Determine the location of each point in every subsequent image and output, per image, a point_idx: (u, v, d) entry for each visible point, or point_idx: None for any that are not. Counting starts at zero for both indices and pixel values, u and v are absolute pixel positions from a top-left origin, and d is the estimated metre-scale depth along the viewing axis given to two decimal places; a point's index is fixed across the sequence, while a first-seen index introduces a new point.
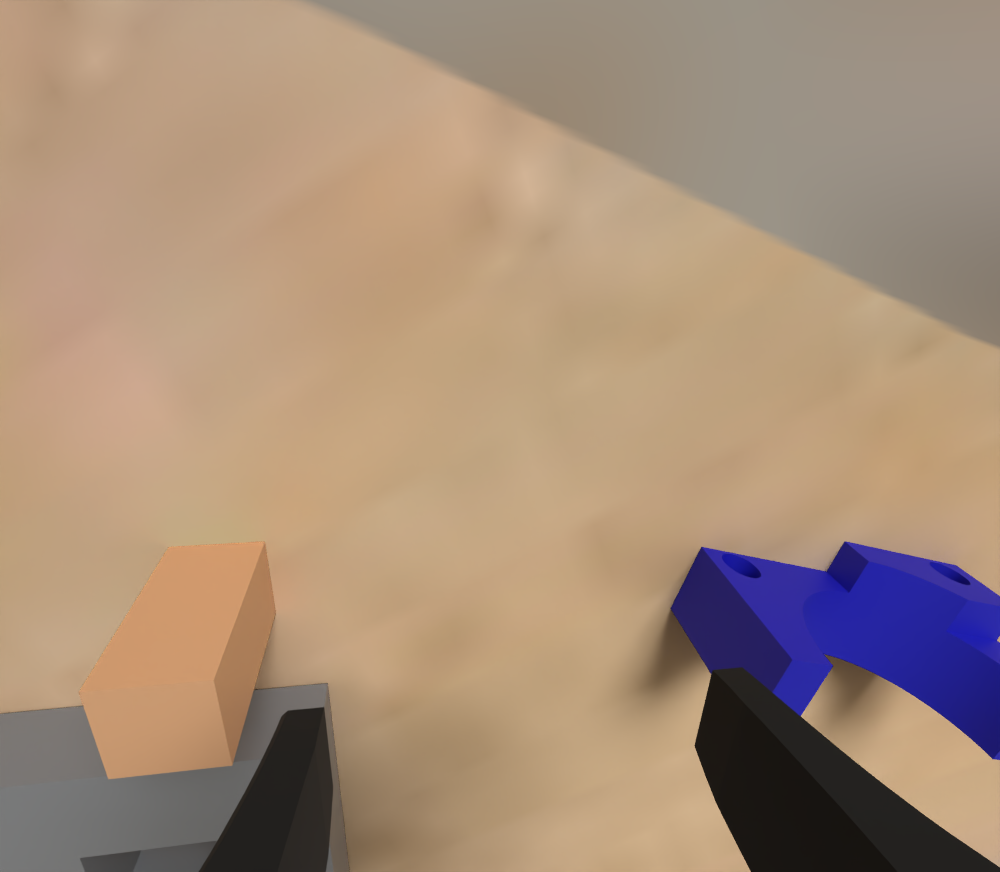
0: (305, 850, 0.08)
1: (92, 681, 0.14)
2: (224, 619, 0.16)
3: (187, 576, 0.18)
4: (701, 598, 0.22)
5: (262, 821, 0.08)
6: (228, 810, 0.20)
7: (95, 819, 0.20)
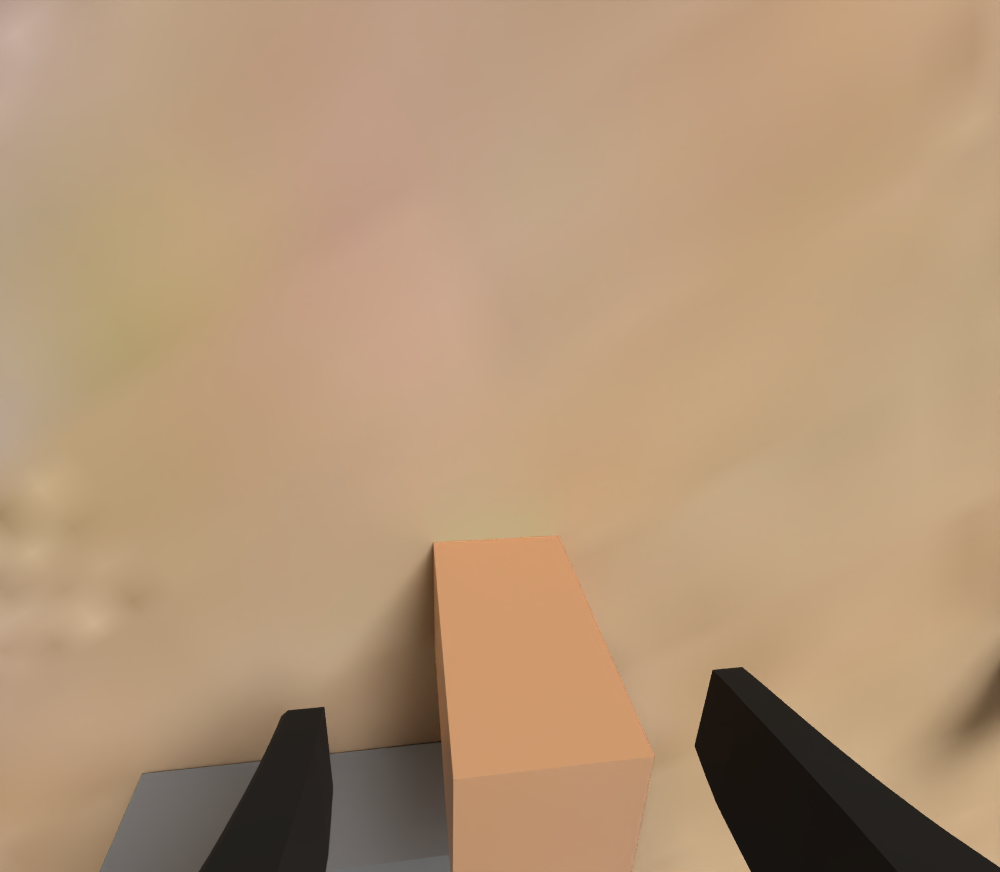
0: (305, 850, 0.08)
1: (463, 758, 0.09)
2: (592, 650, 0.11)
3: (489, 584, 0.12)
4: None
5: (262, 821, 0.08)
6: None
7: None
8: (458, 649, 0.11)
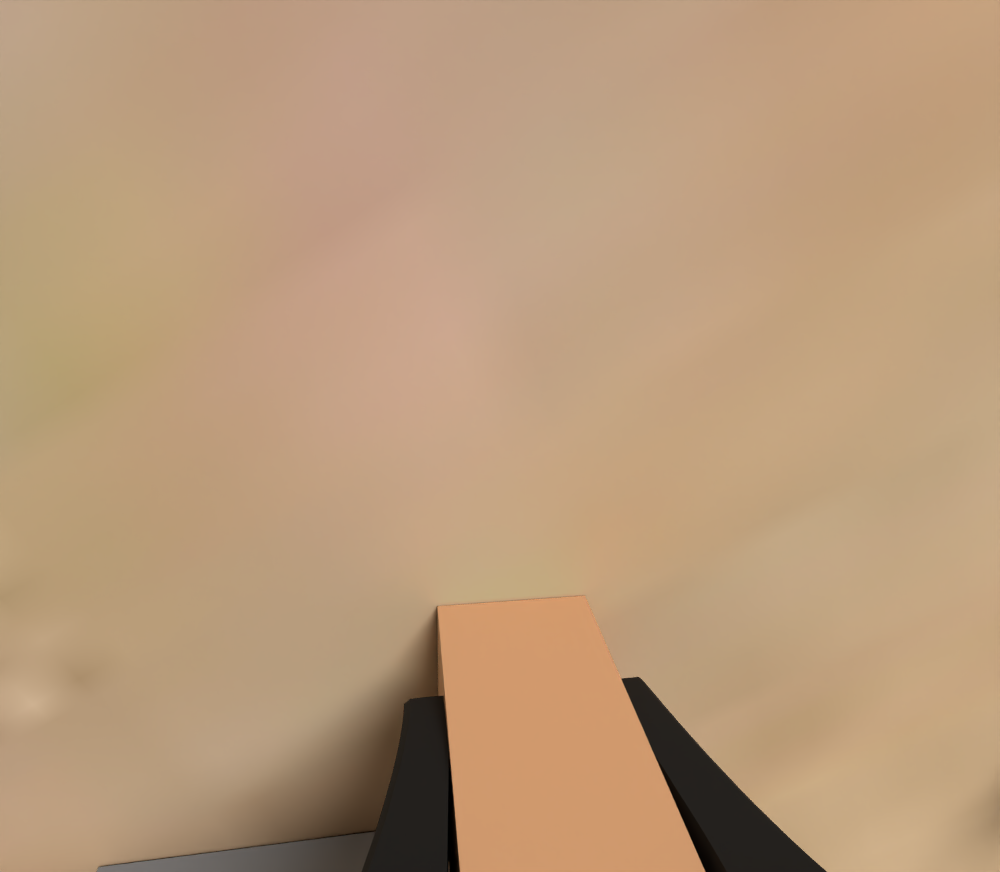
0: None
1: None
2: (638, 764, 0.09)
3: (505, 666, 0.10)
4: None
5: (419, 802, 0.08)
6: None
7: None
8: (471, 765, 0.09)
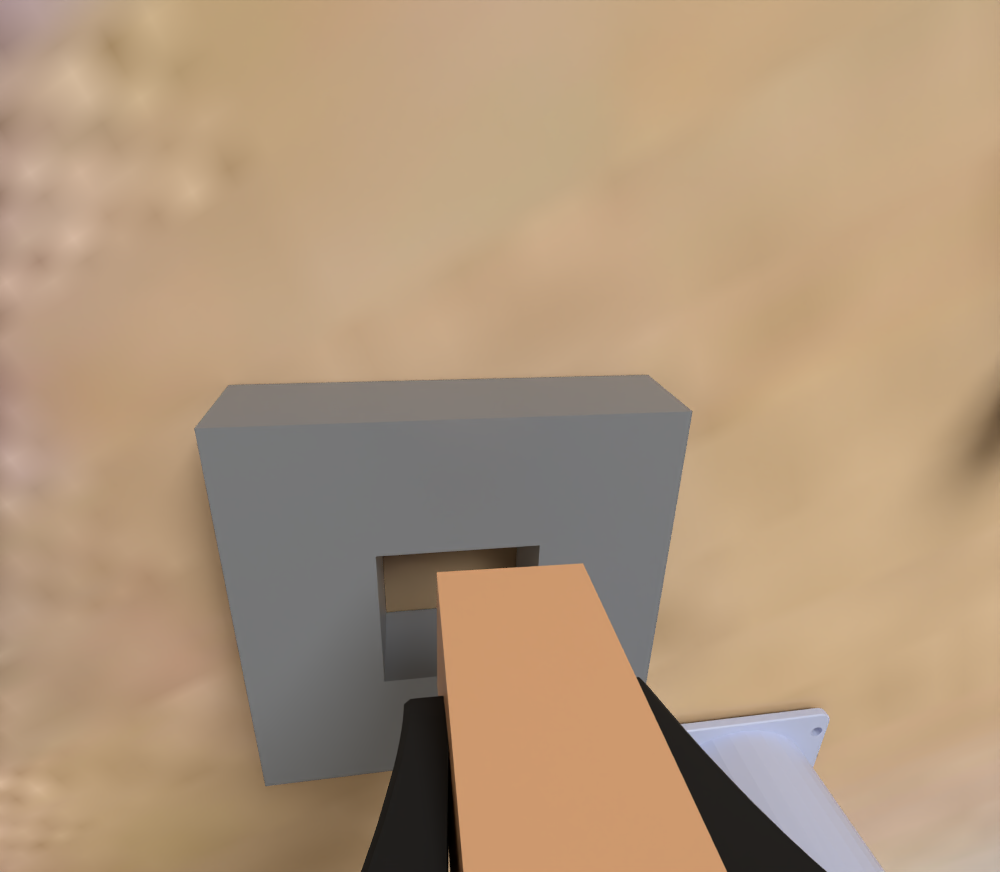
0: None
1: None
2: (635, 717, 0.09)
3: (504, 627, 0.10)
4: None
5: (419, 802, 0.08)
6: (565, 496, 0.16)
7: (408, 493, 0.15)
8: (469, 717, 0.09)
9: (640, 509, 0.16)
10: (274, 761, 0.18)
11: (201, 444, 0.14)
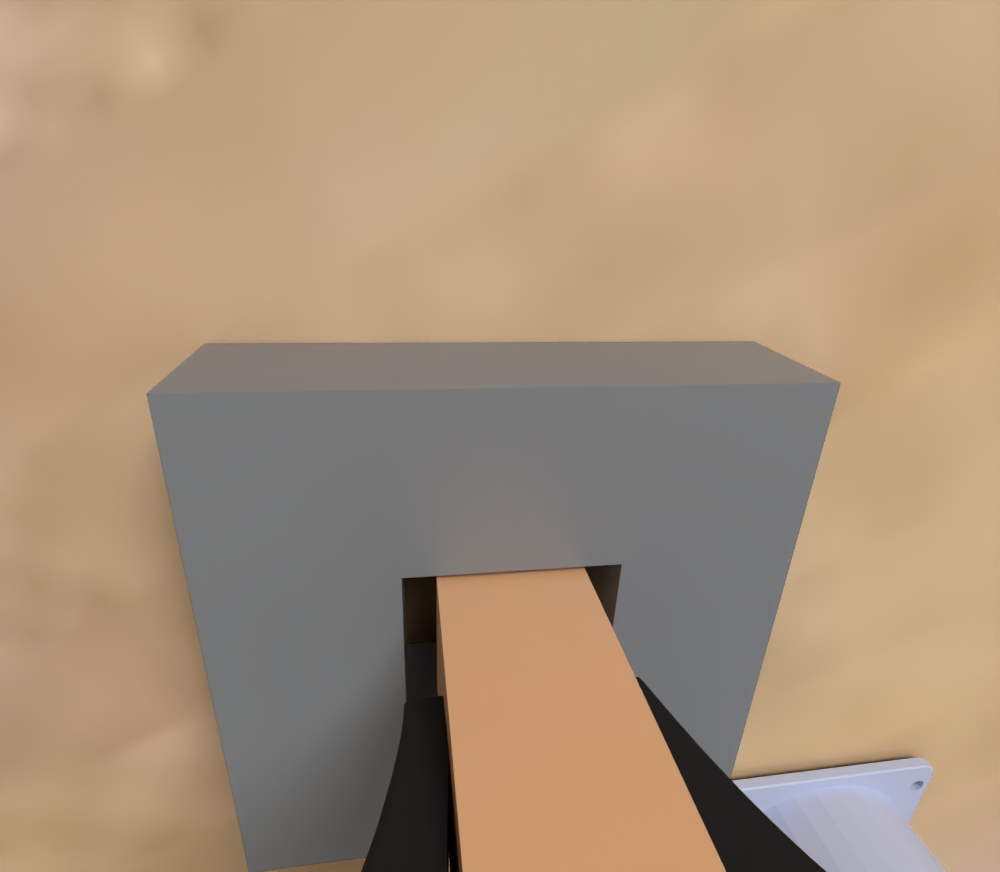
0: None
1: None
2: (634, 717, 0.09)
3: (503, 627, 0.10)
4: None
5: (419, 802, 0.08)
6: (661, 498, 0.11)
7: (449, 491, 0.11)
8: (468, 717, 0.09)
9: (757, 517, 0.12)
10: (261, 842, 0.14)
11: (157, 417, 0.09)
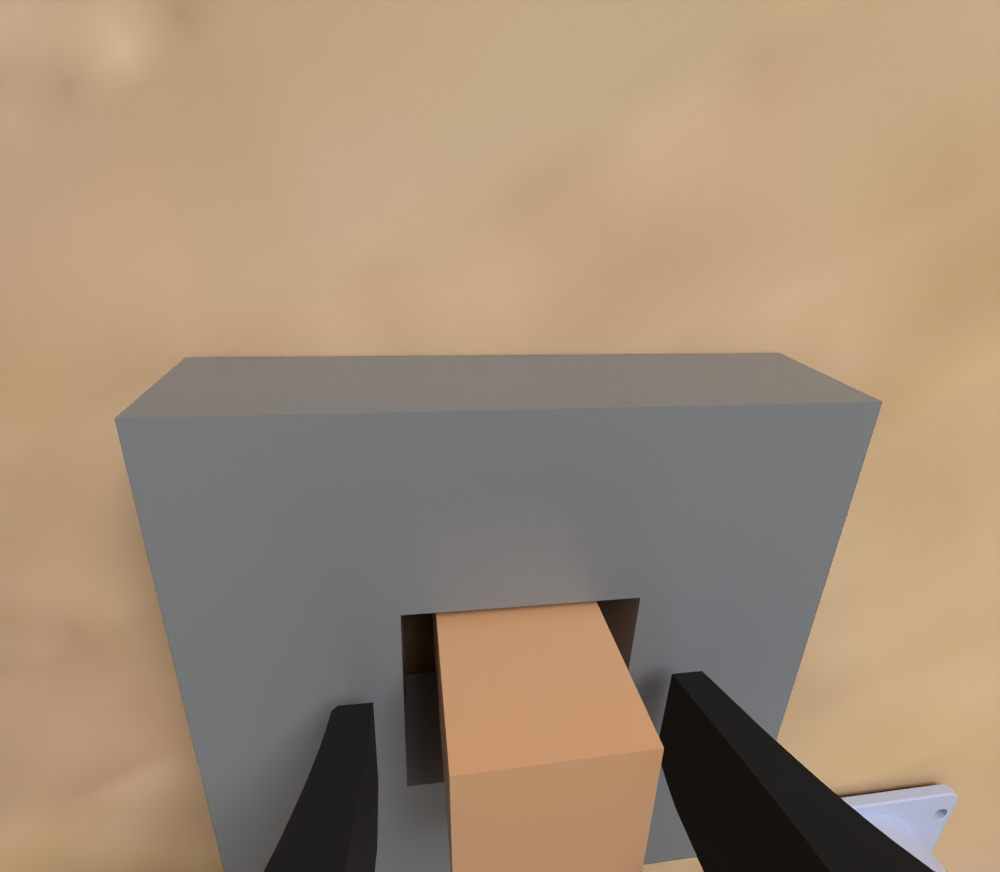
0: (363, 842, 0.09)
1: (460, 754, 0.08)
2: (596, 638, 0.10)
3: None
4: None
5: (326, 813, 0.08)
6: (684, 527, 0.10)
7: (453, 522, 0.10)
8: (455, 639, 0.10)
9: (788, 546, 0.11)
10: None
11: (127, 444, 0.08)
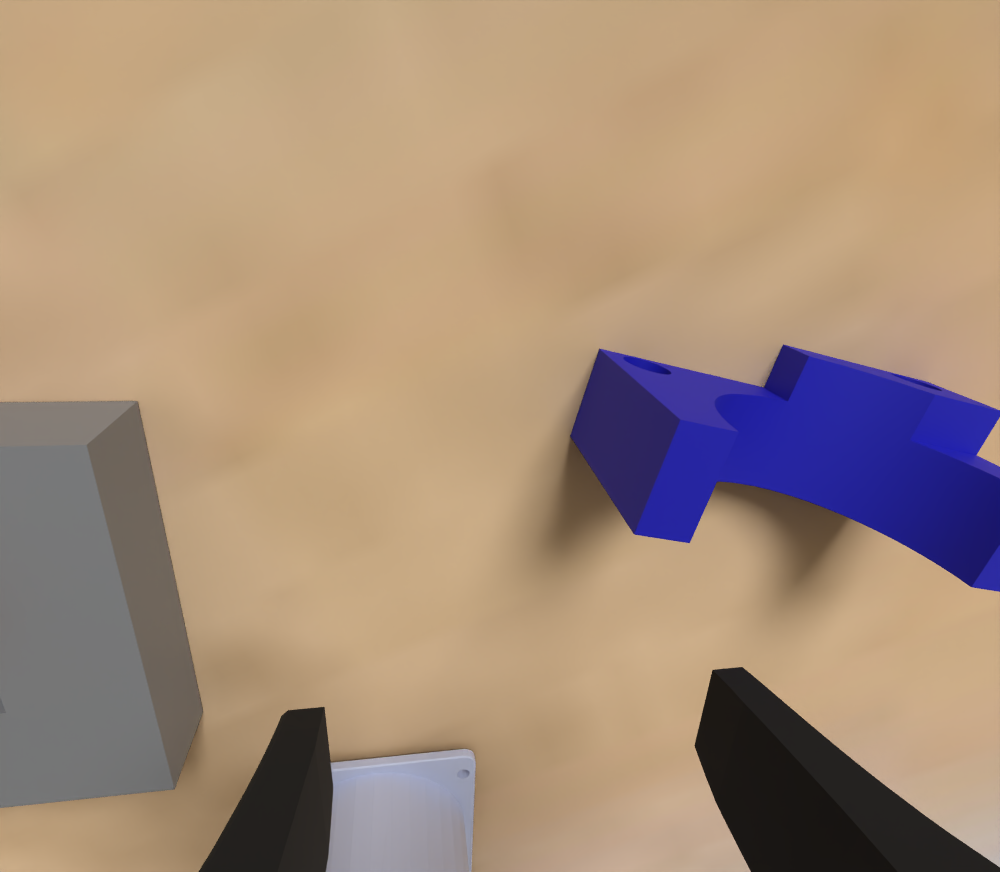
0: (305, 850, 0.08)
1: None
2: None
3: None
4: (597, 406, 0.18)
5: (262, 821, 0.08)
6: None
7: None
8: None
9: (68, 548, 0.15)
10: None
11: None
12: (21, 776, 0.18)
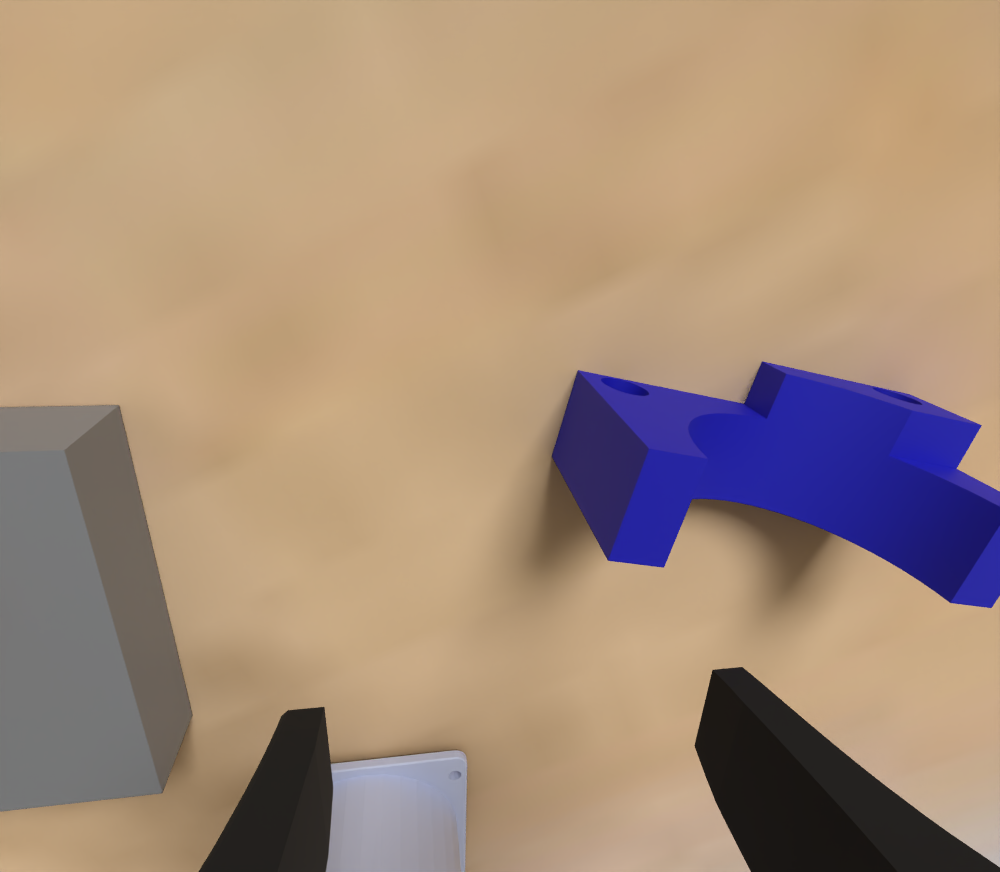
0: (305, 850, 0.08)
1: None
2: None
3: None
4: (575, 428, 0.18)
5: (262, 821, 0.08)
6: None
7: None
8: None
9: (49, 554, 0.15)
10: None
11: None
12: (8, 781, 0.18)
